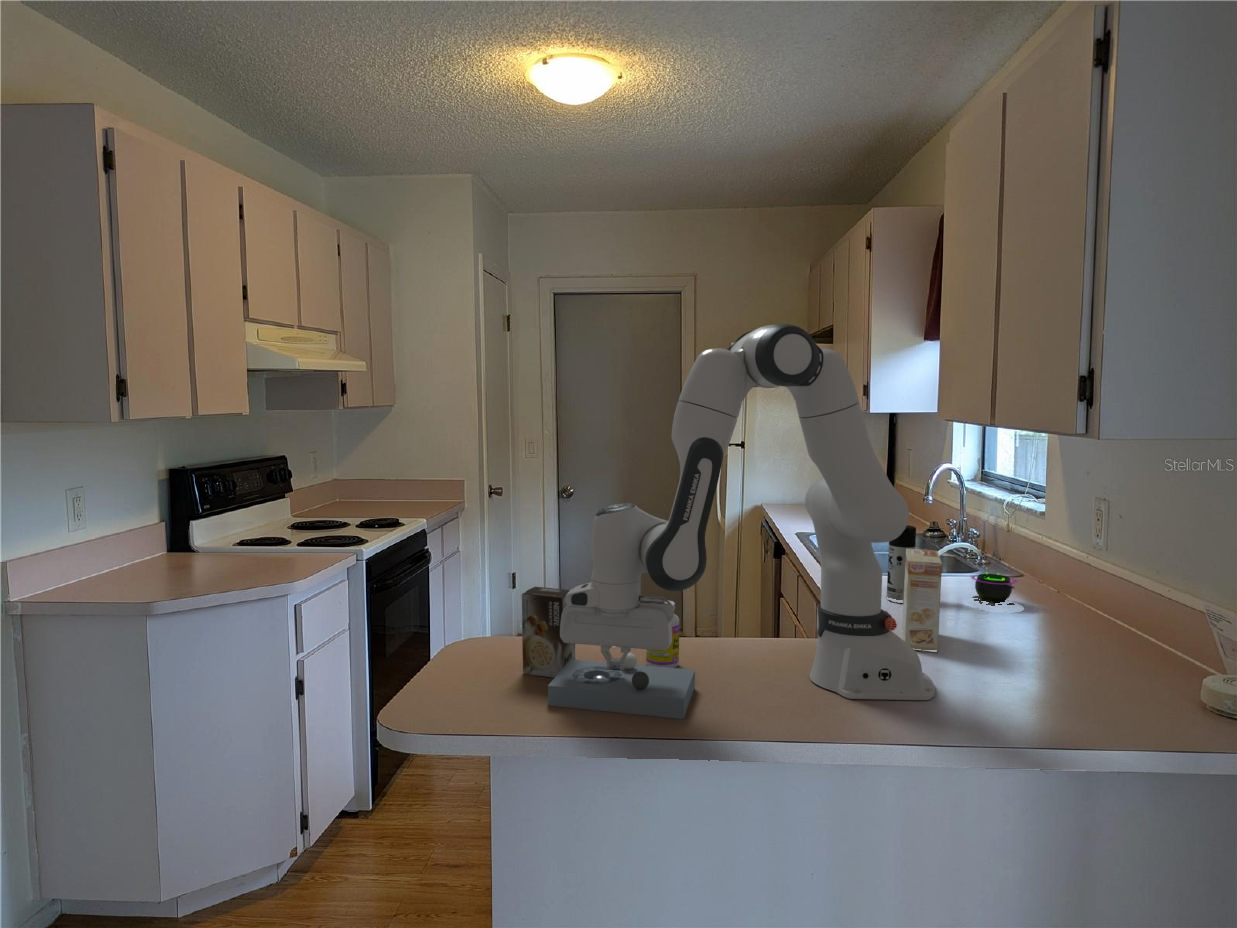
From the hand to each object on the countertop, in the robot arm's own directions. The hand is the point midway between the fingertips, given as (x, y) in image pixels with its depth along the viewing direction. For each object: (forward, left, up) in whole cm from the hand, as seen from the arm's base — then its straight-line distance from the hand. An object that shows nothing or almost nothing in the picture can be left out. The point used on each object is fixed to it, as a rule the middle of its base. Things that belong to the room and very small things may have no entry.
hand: (615, 669), depth 141 cm
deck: (-1, 0, -5) cm, 5 cm away
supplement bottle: (-5, -18, -5) cm, 19 cm away
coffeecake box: (-58, -47, -5) cm, 75 cm away
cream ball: (-1, -4, 0) cm, 5 cm away
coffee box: (+16, -9, -5) cm, 19 cm away
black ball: (-5, +5, 0) cm, 7 cm away
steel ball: (+3, 0, -3) cm, 4 cm away
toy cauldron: (-82, -83, -5) cm, 117 cm away
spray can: (-58, -82, -5) cm, 101 cm away
